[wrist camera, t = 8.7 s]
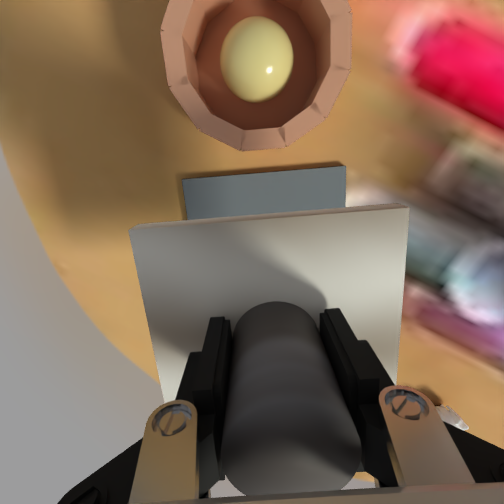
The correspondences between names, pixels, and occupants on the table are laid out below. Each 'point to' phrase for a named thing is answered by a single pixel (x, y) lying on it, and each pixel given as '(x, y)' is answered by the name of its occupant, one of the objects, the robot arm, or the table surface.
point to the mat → (265, 192)
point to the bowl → (257, 66)
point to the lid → (277, 328)
